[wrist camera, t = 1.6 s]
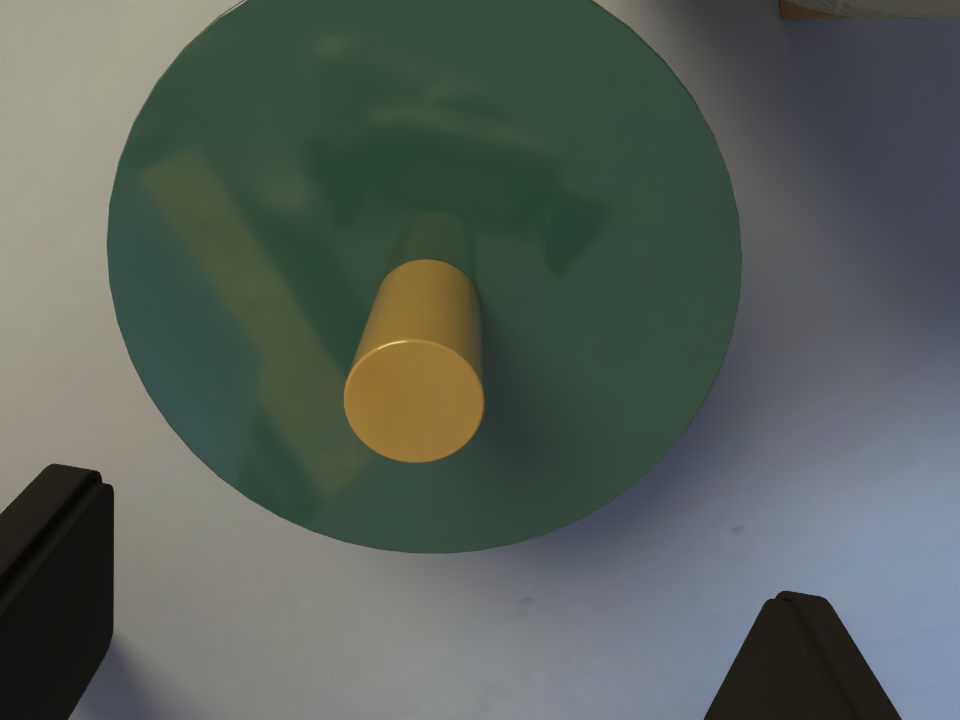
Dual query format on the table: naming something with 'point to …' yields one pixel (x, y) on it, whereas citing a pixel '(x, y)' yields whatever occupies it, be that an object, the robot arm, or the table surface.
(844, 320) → the table surface
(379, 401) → the bowl lid
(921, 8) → the planter
